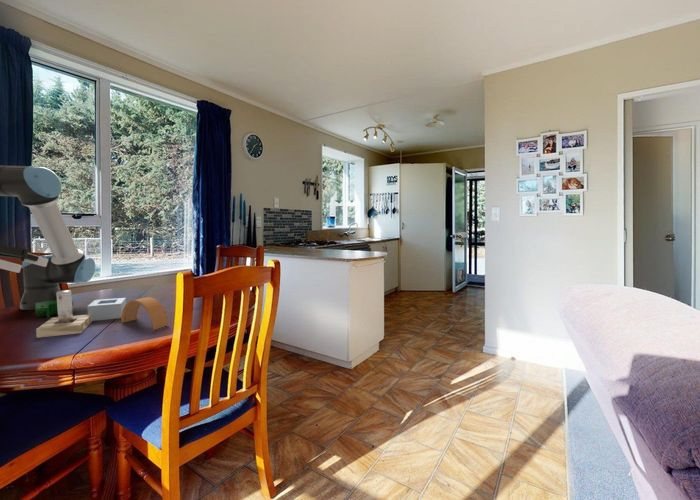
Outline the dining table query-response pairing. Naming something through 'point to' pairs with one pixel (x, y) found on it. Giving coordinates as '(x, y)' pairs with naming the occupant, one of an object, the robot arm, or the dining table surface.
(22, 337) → the dining table surface
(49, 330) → the birch block
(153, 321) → the arch
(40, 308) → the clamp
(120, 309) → the slate holder block
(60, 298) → the steel axle
